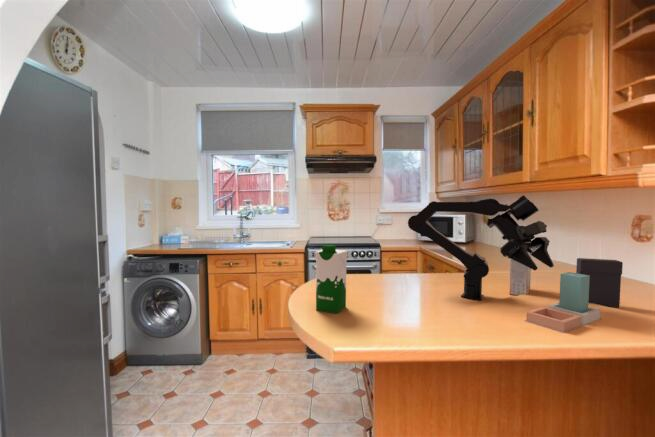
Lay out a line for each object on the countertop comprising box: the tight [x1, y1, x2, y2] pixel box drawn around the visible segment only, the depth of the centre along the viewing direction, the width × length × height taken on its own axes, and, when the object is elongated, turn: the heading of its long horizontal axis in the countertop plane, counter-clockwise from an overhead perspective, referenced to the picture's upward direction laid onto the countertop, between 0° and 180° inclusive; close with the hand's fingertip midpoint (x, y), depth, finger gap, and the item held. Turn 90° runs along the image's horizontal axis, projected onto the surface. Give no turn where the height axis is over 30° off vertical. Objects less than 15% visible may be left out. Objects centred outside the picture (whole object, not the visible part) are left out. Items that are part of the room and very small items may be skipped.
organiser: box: [524, 302, 602, 334], centre depth 89 cm, size 10×21×4 cm, turn 120°
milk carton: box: [314, 244, 348, 314], centre depth 100 cm, size 9×9×20 cm
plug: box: [558, 271, 590, 313], centre depth 92 cm, size 5×5×12 cm
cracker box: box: [509, 251, 532, 297], centre depth 121 cm, size 14×6×21 cm, turn 144°
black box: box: [575, 257, 624, 309], centre depth 106 cm, size 11×4×15 cm, turn 71°
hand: (544, 268), depth 98 cm, fingers open, 9 cm apart
